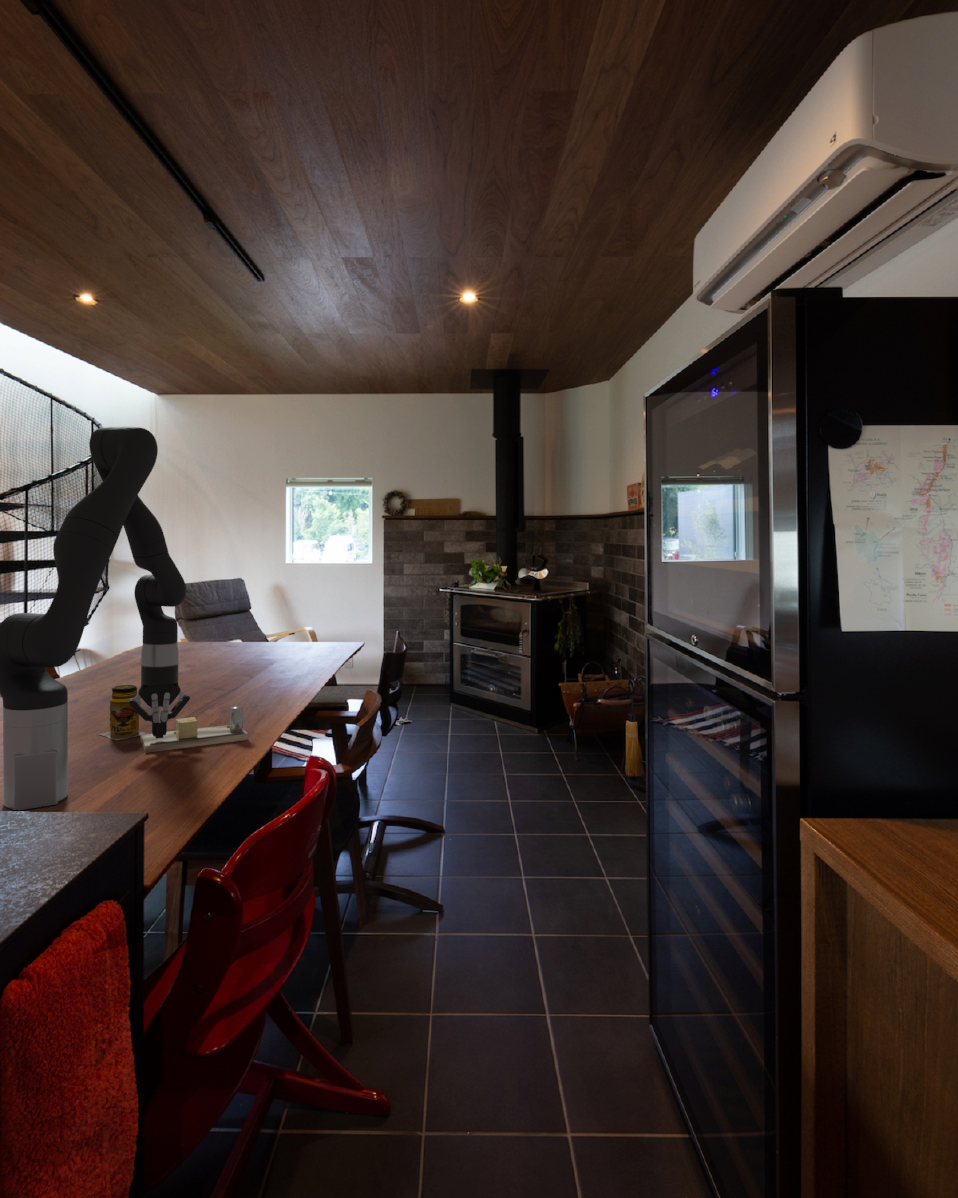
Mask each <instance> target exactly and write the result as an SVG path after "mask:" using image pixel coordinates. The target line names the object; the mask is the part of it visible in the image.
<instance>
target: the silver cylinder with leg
mask: <svg viewBox="0 0 958 1198" xmlns="http://www.w3.org/2000/svg"><path fill="white" fill-rule="evenodd" d="M229 725H230V733H241V732H243V729H244V706H242V705H241V706H240V705H235V706H230V708H229Z"/></svg>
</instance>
